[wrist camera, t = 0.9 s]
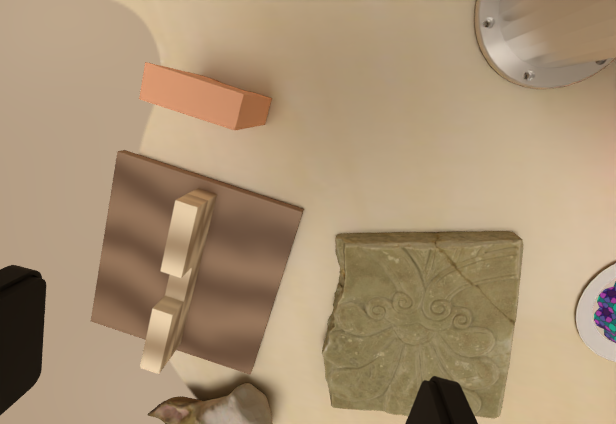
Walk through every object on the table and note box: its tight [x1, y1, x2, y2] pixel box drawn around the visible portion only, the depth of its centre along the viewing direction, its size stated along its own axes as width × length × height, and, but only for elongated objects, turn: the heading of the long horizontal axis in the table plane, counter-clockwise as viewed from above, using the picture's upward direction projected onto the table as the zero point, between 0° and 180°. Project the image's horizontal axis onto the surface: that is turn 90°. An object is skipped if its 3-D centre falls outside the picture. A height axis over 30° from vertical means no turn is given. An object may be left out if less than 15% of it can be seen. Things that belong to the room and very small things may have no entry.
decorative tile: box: [322, 231, 523, 418], centre depth 38 cm, size 19×20×4 cm
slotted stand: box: [91, 150, 304, 374], centre depth 37 cm, size 20×19×6 cm
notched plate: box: [139, 62, 272, 130], centre depth 30 cm, size 2×7×10 cm, turn 73°
